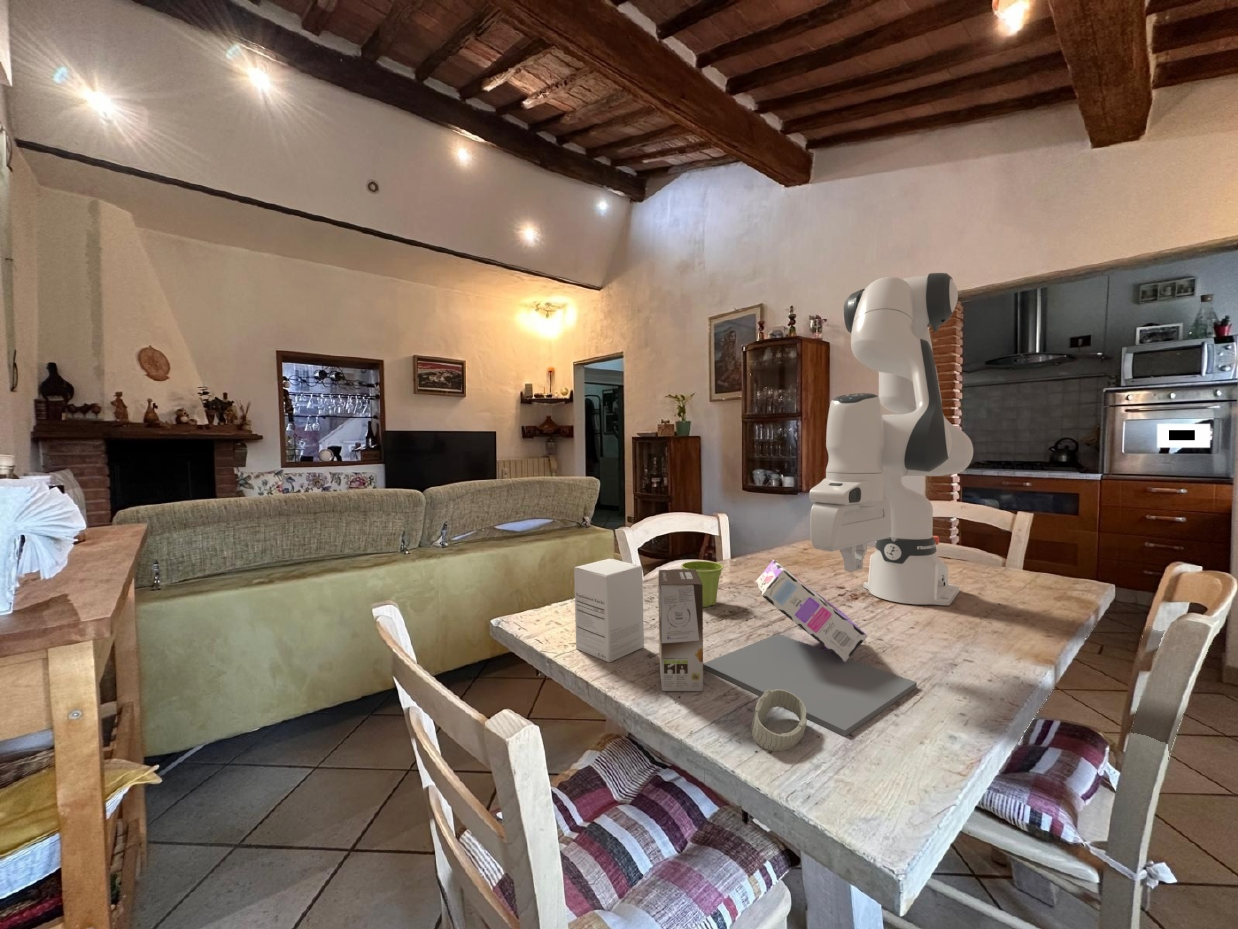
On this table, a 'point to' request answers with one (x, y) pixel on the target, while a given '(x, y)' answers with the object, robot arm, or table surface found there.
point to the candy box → (810, 611)
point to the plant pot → (707, 578)
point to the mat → (813, 680)
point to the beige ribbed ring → (762, 707)
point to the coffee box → (680, 630)
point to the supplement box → (609, 608)
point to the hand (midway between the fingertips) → (853, 570)
